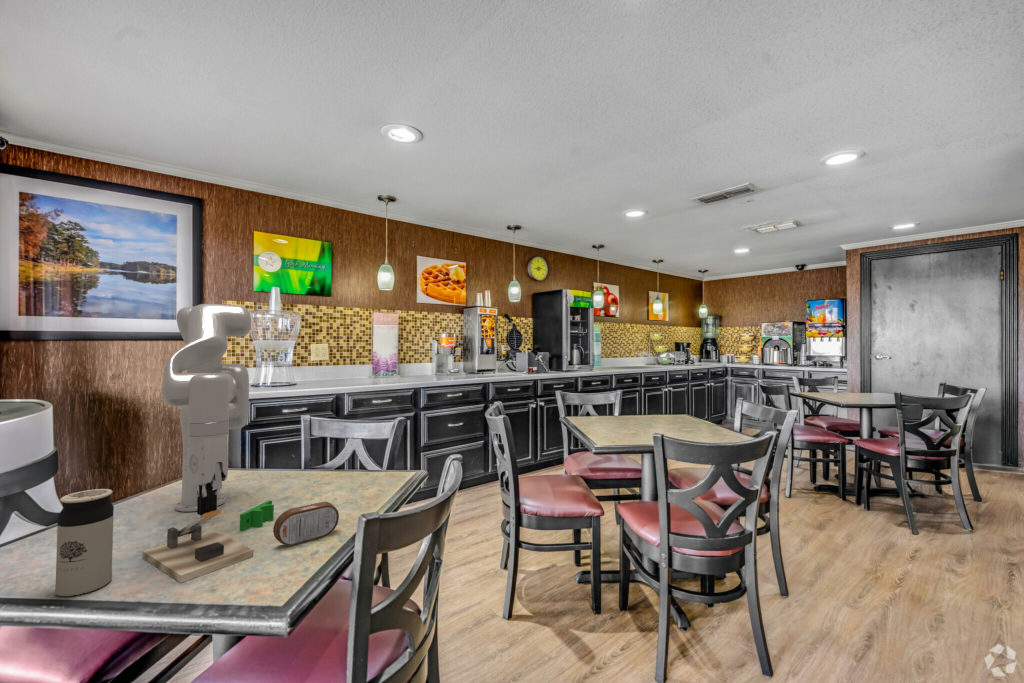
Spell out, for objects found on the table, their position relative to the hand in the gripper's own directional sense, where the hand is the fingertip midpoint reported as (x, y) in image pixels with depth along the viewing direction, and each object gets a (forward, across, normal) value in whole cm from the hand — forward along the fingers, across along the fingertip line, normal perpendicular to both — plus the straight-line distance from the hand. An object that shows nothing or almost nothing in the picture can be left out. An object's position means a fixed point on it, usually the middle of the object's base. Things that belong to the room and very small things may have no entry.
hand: (206, 513), depth 98 cm
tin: (+11, +8, +19) cm, 23 cm away
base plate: (+10, -4, 0) cm, 11 cm away
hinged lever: (+4, -4, 0) cm, 6 cm away
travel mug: (+11, -8, -18) cm, 22 cm away
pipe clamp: (+10, -13, +18) cm, 25 cm away
